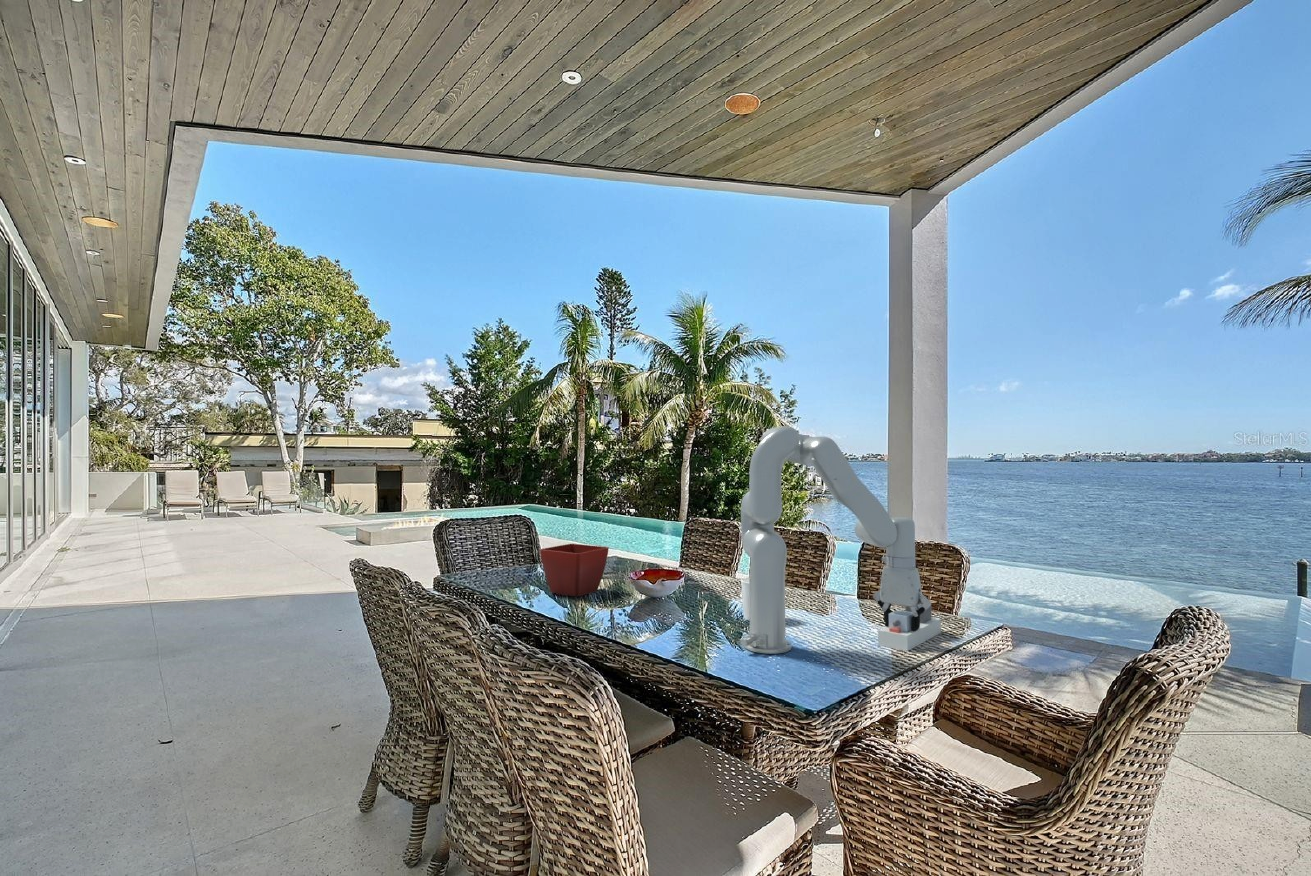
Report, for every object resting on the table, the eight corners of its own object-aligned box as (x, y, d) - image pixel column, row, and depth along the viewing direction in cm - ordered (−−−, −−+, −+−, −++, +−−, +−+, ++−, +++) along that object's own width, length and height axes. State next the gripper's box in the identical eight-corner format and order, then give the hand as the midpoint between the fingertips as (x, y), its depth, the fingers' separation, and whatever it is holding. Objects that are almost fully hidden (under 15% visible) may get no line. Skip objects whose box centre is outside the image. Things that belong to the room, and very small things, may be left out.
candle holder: (777, 616, 210) (776, 579, 210) (765, 623, 201) (765, 584, 201) (748, 613, 215) (748, 576, 215) (736, 619, 206) (736, 581, 206)
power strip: (907, 651, 173) (907, 632, 173) (878, 645, 178) (878, 627, 178) (941, 632, 190) (940, 615, 190) (913, 627, 196) (913, 611, 196)
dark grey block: (923, 638, 185) (923, 608, 185) (906, 634, 188) (905, 606, 188) (933, 632, 190) (933, 604, 190) (916, 629, 194) (916, 601, 194)
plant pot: (610, 590, 251) (610, 546, 251) (578, 600, 235) (578, 553, 235) (571, 585, 261) (571, 543, 261) (538, 594, 245) (538, 549, 245)
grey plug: (904, 648, 175) (904, 617, 175) (886, 645, 178) (886, 614, 178) (916, 642, 180) (915, 612, 180) (898, 639, 184) (897, 609, 184)
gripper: (864, 560, 184) (865, 625, 183) (927, 568, 172) (928, 636, 171) (876, 557, 189) (877, 619, 189) (938, 564, 177) (939, 630, 177)
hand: (901, 627), depth 180 cm, fingers open, 6 cm apart
